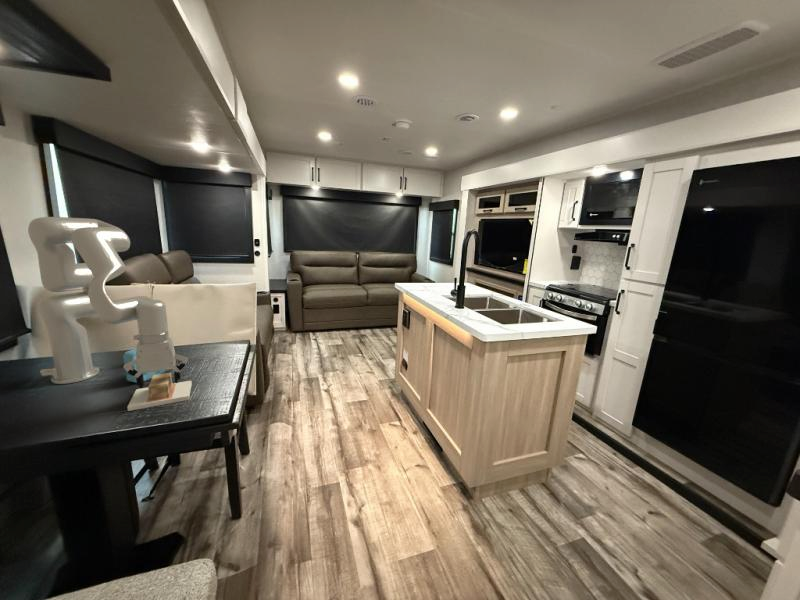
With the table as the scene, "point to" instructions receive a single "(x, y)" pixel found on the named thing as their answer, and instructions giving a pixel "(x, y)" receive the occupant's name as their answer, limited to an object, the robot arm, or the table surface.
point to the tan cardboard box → (160, 386)
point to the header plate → (176, 395)
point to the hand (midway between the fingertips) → (159, 383)
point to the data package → (130, 357)
